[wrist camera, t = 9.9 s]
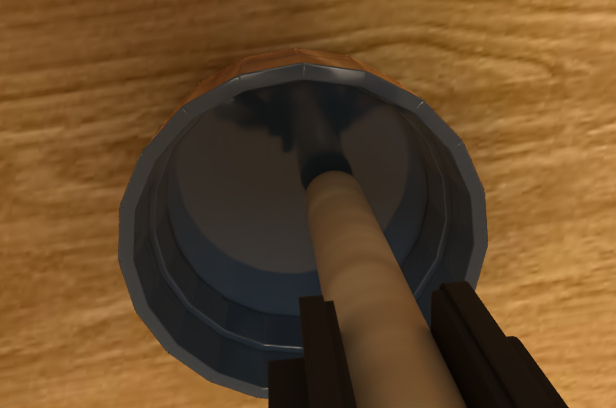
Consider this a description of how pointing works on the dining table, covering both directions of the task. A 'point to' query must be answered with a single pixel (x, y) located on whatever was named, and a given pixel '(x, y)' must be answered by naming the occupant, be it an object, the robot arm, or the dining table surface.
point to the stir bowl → (285, 205)
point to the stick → (373, 303)
